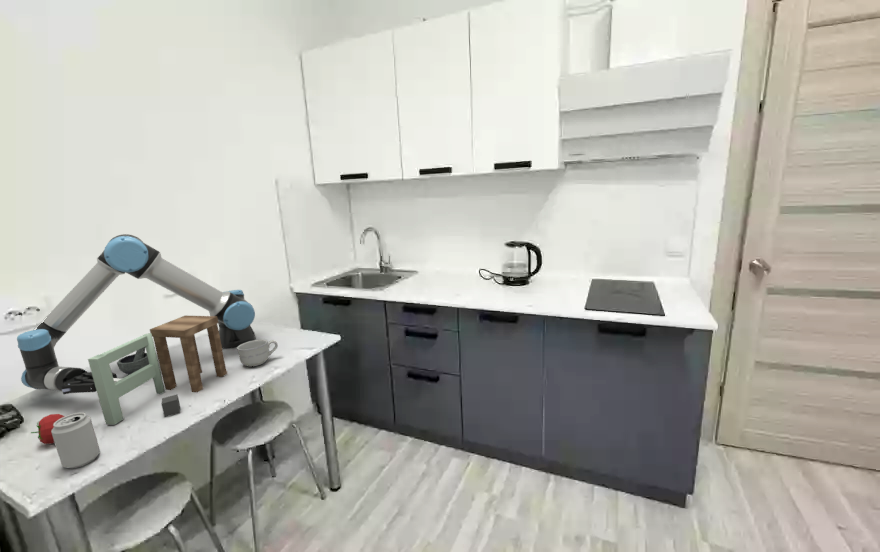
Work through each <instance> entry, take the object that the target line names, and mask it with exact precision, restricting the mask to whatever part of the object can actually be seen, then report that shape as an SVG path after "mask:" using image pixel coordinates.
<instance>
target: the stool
mask: <svg viewBox="0 0 880 552" xmlns="http://www.w3.org/2000/svg"><path fill="white" fill-rule="evenodd" d="M204 330H206V331H207V336H208V341H209V346H210V351H211V355H212V360H213V367H214V371H215V375H216V378H223V377H225V376H226V375H228V371H227V366H226V362H225V356H224V350H223V348H222V346H221V340H220V335H219V325H218V318H217V316H210V315H183V316H180V317H178V318H174V319H173V320H170V321H167V322H165V323H162V324H160V325H157V326H155V327H152V328H150V329H149V332H150V333H151V334H152V338H153V342H154V346H155V350H156V355H157V359H158V363H159V367H160V372H161V376H162V380H163V384H164V388H165V391H172V390H174V389H176V388H177V387H178V386H177V385H178V384H177V381H176V377H175V370H174V367H173V363H172V360H171V353H170V350H169V345H168V341H167V338H173V339H174V338H177V339H178V338H179V341H180V344H181V345H180V346H181V349H182V353H183V359H184V364H185V368H186V372H187V377H188V381H189V382H188V383H189V385H190V391H191V392H192V393H200V392H201V391H203V390H204V386H203V380H202V377H201V374H202V373H203V370H202V366H201V361H200V356H199V351H198V345H197V342H196V336H195V334H198V333H200V332H202V331H204ZM224 375H225V376H224Z"/></svg>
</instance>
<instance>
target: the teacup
mask: <svg viewBox="0 0 880 552" xmlns="http://www.w3.org/2000/svg"><path fill="white" fill-rule="evenodd" d="M271 344H274V347H273V348H272V349H271V350H270V346H271ZM277 349H278V342H277V341H276V340H274V339H273V340H272V339H271V340H270V341H268V340H267V339H255V340H253V341H249V342H246V343H243V344H241V345H239V346H238V347H236V350H237V354H238V357H239V361H240V363H241V364H242V365H245V366H247V367H252V366H253V367H258V366H260V365H262V364H264V363H266V361H267V360H268V359H269V357H271V356H272V354H273V353H274V352H275V351H276V350H277Z"/></svg>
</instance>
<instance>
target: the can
mask: <svg viewBox="0 0 880 552" xmlns="http://www.w3.org/2000/svg"><path fill="white" fill-rule="evenodd" d="M64 416H65V417H62V418H60V419H59V420H57V421H56V422H55V423H54V424H53V426H54V428H53V429H52V431H51V432H52V436H53V439H54V442H55V443H54V445H55V448H56V451H57V454H58V457H59V461H60V464H61V466H62V467H63V468H65V469H66V468H68V469H78V468H80V467H83V466H86V465H88V464H91V462H93V461H94V460H96V459H97V457H98V456H99V454H100V452H101V449H100V445H99V442H98V439H97V435H96V434H97V433H96V431H95V427H94V425H93V421H92V418H91V417H90V416H88V415H87V413H85V412H74V413H71V414H67V415H64Z"/></svg>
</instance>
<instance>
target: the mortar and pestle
mask: <svg viewBox="0 0 880 552" xmlns="http://www.w3.org/2000/svg"><path fill="white" fill-rule="evenodd" d="M116 364H117V367H118V369H119V371H120V372H122V373H123V374H126V376H128V375H130V374H132V373H134V372H136V371H137V370H139V369H141V368H143V367H145V366H147V365H150V364H149V360H148V356H147V352H146V348H145V347H143V348H141V349H139V350H137V351H135V353H134V354H133V353H132V354H129V355H126V356H124V357H122V358H120V359H118V360H117V362H116Z"/></svg>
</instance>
